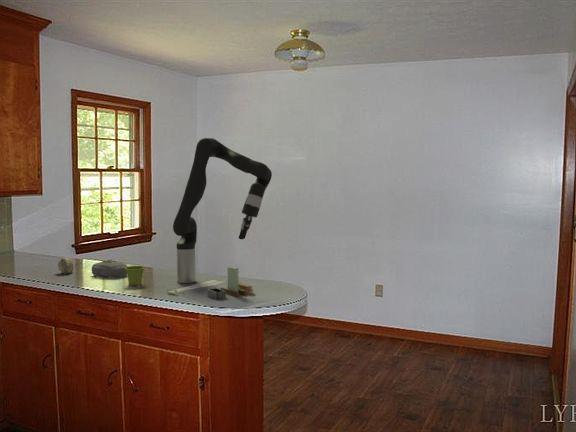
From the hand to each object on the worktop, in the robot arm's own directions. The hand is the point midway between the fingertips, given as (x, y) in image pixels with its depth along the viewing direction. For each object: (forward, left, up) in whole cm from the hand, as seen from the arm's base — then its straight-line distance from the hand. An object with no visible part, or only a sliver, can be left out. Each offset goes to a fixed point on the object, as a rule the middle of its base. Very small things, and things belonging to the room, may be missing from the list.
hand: (241, 238), depth 238 cm
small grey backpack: (-65, -54, -26) cm, 89 cm away
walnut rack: (+3, -3, -25) cm, 26 cm away
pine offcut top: (+3, 0, -23) cm, 23 cm away
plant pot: (-37, -44, -26) cm, 63 cm away
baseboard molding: (-15, -16, -26) cm, 34 cm away
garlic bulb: (-82, -77, -26) cm, 116 cm away
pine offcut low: (+3, -1, -24) cm, 25 cm away
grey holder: (+7, -14, -25) cm, 30 cm away
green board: (+4, -5, -24) cm, 25 cm away
